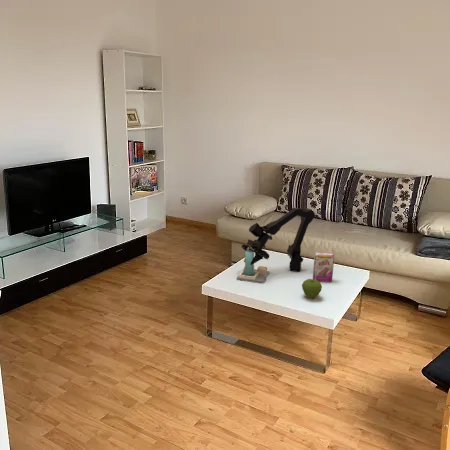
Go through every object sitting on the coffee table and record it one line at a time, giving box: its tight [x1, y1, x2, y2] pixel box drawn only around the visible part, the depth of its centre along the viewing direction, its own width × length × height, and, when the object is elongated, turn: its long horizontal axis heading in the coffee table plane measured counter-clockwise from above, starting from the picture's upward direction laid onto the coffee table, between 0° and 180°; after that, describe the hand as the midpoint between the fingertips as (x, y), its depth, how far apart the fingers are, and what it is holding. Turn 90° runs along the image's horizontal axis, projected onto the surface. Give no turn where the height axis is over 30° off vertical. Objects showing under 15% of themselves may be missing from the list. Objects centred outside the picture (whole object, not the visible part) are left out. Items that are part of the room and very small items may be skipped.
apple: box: [301, 278, 323, 299], centre depth 262 cm, size 11×10×10 cm
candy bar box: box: [312, 252, 335, 283], centre depth 284 cm, size 11×5×16 cm, turn 84°
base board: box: [236, 265, 271, 284], centre depth 290 cm, size 16×17×4 cm
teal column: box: [244, 250, 255, 275], centre depth 286 cm, size 5×5×14 cm
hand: (247, 263), depth 285 cm, fingers closed on teal column, 5 cm apart
